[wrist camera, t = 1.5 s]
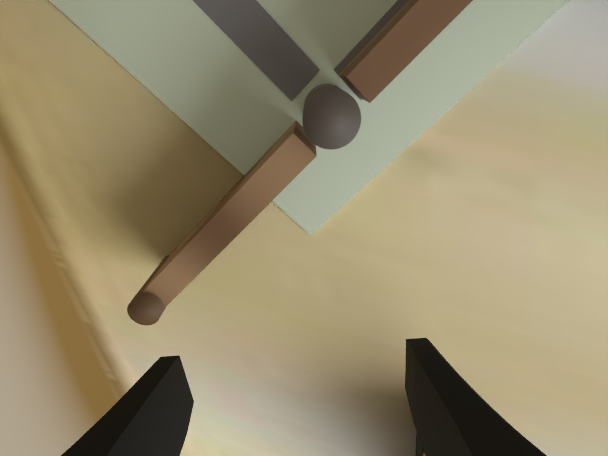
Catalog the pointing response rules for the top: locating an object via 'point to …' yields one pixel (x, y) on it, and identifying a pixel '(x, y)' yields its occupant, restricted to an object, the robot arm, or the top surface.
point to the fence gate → (223, 223)
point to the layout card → (299, 75)
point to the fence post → (375, 70)
